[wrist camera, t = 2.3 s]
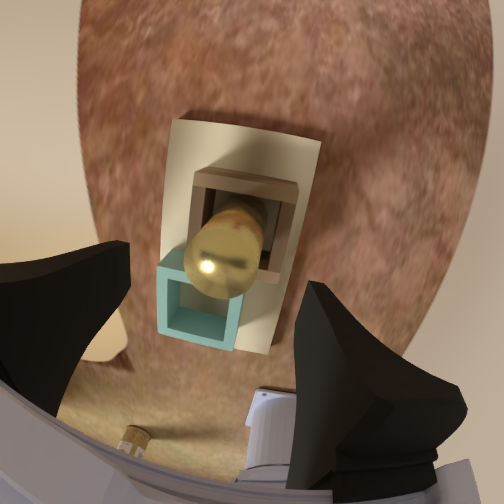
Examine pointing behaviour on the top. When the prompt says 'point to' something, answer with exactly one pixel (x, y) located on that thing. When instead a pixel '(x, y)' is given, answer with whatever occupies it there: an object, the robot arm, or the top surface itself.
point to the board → (239, 159)
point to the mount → (249, 185)
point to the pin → (228, 248)
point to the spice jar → (134, 441)
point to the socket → (188, 320)
